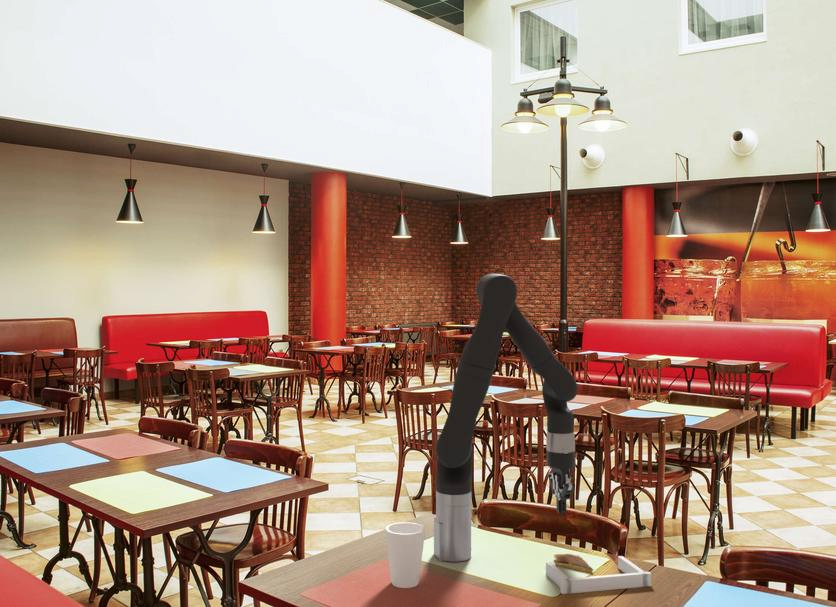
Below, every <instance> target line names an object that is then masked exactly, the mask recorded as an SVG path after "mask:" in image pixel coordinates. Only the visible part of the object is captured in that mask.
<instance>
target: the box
mask: <svg viewBox="0 0 836 607" xmlns="http://www.w3.org/2000/svg"><path fill="white" fill-rule="evenodd" d="M617 569H618V570H620V571H621V572H622V573H618V574H617V573H615V574H604V575H593V576H583V577H571V578H570V577H569V576H567V575H566V574H565V573H564V572H563V571H562V570H561V569H559V568H558V566H556V565H555V563H552V561H546V562H545V575H546V576H547V577H548V578H549V579H550V580H551V581H553V583H555V584H556V585H557V586H558V587H559V589H560V593H561V594H562V595H567V594H569V595H570V594H577V593H578V594H580V593H581V594H582V593H590V592H591V593H592V592H603V591H611V590H622V589H637V588H644V587H645V588H646V587H647V588H648V587H652V572H650V571H645V570H643V569H641V568H640V567H638V566H637V565H636V564H634V563H633V562H631V561H630V560H629V559H628V558H626V557H624V556H623V555H618V556H617Z"/></svg>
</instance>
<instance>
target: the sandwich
mask: <svg viewBox="0 0 836 607" xmlns="http://www.w3.org/2000/svg"><path fill="white" fill-rule="evenodd" d="M553 557H554V559H555V561H554V565H555V566H556V567H564V568H567V569H568V568H569V569H572V570H575V571H579V572H585V573H590V574H591V573H593V571H594V568H593V567H591V566H590V565H589V564H588V563H587V561H586V560H584V559H583V557H581V556H579V554H578V555H576V554H572V553H559V554H553Z"/></svg>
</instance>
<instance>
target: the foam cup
mask: <svg viewBox="0 0 836 607" xmlns="http://www.w3.org/2000/svg"><path fill="white" fill-rule="evenodd" d="M384 532H385V533H384V534H385V535H384V536H385V541H386V549H387V557H388V565H389V571H390V579H391V580H390V581H391V584H392V586H393V587H397V588H400V589H401V588H402V589H410V588H415V587H416V586H418V585H419V582H420V574H421V567H422V566H421V565H422V558H423V551H424V544H425V542H424V541H425V540H426V527H425V526H424V525H423V524H421V523H416V522H408V521H407V522H405V521H403V522H395V523H391V524H389V525H386V526H385V531H384Z"/></svg>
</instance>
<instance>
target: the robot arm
mask: <svg viewBox="0 0 836 607" xmlns="http://www.w3.org/2000/svg"><path fill="white" fill-rule="evenodd" d="M475 289H476V296H477V299H478V301H479V302H480V303H481V307H480V311H479V316H478V320H477V322H476V326H475V328H474V329H473V332H472V334H471V336H470V337H469V339H468V341H467V342H466V344H465V346H464V348H463V350H462V352H461V356H460V358H459V362H458V366H457V369H456V373H455V376H454V381H453V386H452V392H451V399H450V405H449V410H448V414H447V417H446V420H445V423H444V425H443V428H442V430H441V433H440V435H439V436H438V438H437V441H436V444H435V455H436V478H435V479H436V480H435V499H436V500H435V501H436V502H435V517H434V518H433V554H434V556H435V557H436V558H437V559H438V561H439V562H443V561H444V562H451V563H452V562H453V563H454V562H455V563H456V562H457V563H458V562H464V561H468V560H469V559H471V557H472V481H473V479H472V478H473V477H472V476H473V475H472V474H473V471H472V470H473V444H472V443H473V437H474V431H475V427H476V422H477V419H478V416H479V414H480V411H481V408H482V406H483V403H484V402H485V398H486V397H487V395H488V394H487V393H488V392H489V388H490V385H491V382H492V378H493V375H494V372H495V368H496V363H497V359H498V355H499V352H500V348H501V344H502V339H503V336H504V332H507V334H508V335H509V337H510V338H511V340H512V342H514V344H515V346H516V347H517V349H518V350H519V352H520V353H521V355H522V357H523V359H525V361H526V362H527V365H529V367H530V369H531V370H532V371H533V372H534V373H535V374H536V375H538V376H539V377H541V378H542V379H543V382H542V386H541V388H542V389H541V391H542V399H543V403H544V404H543V405H544V409H545V413H546V416H547V417H546V431H547V432H546V440H545V441H546V442H545V444H546V446H545V447H546V466H547V467H548V468H551V473H548V474H547V477H548V480H549V481H548V482H549V485H550V489H551V492H552V495H553V496H554V497H555V500H556V502H555V503H556V513H558V515H566V514H567V500H571V498H572V495H573V492H574V490H575V487H576V484H575V483H574V482H571V480H572V478H571V477H572V476H571V472H570V470H571V469H572V468H574V467H575V466H576V440H575V433H574V431H575V424H574V423H575V422H574V413H573V412H572V410H570V408H569V407H568V402H571V401H573V400H574V399H575V398H576V397H577V395H578V391H579V390H578V384H577V381H576V378H575V377H574V376H573V374H572V373H571V372H570V371H569V370H568V369H567V368H566V366H565V365H563V364H562V363H561V361H560V360H559V359H558V358H557V357H556V356H555V354H554V352H553V350H552V349H551V348H550V346H549V344H548V343H547V342H546V340H545V339H544V338H543V336H542V335H541V334H540V333H539V331H538V330H537V329H536V328H535V327H534V326H533V324H531V323H530V321H529V320H528V319H527V318H526V316H525V315H524V314H523V313H522V311H521V309H520V308H519V307H518V305H517V303H516V302H517V301H516V300H517V297H518V287H517V284H516V282H515V281H514V279H512V277H511V276H508V275H506V274H502V273H501V274H500V273H488V274H485V275H483V276H482V277H481V278H480V279H479V280H478V282H477V284H476V288H475Z"/></svg>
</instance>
